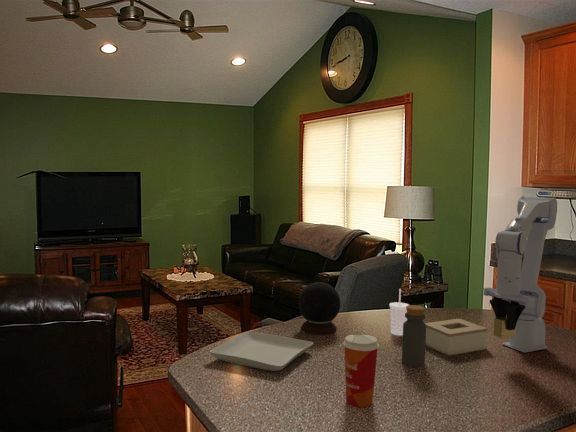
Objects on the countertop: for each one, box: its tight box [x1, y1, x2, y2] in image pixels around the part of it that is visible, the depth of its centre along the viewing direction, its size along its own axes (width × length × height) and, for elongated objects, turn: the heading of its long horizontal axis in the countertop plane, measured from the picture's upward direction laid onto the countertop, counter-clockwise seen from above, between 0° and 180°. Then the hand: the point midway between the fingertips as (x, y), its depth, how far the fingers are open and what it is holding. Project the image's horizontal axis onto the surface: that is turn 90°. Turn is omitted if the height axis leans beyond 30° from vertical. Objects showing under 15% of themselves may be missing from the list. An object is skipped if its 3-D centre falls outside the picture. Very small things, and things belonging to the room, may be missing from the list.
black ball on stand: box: [298, 281, 341, 336], centre depth 168 cm, size 13×13×15 cm
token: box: [493, 315, 516, 339], centre depth 140 cm, size 5×3×5 cm, turn 116°
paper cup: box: [342, 333, 380, 408], centre depth 115 cm, size 8×8×14 cm
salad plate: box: [208, 331, 314, 372], centre depth 142 cm, size 21×21×3 cm
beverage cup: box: [389, 288, 410, 336], centre depth 165 cm, size 6×6×14 cm
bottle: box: [401, 304, 427, 368], centre depth 139 cm, size 6×6×15 cm
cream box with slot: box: [424, 318, 488, 356], centre depth 154 cm, size 14×11×6 cm
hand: (506, 328), depth 141 cm, fingers closed on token, 3 cm apart
